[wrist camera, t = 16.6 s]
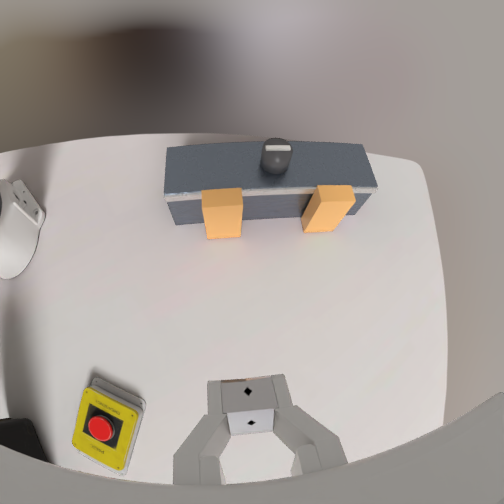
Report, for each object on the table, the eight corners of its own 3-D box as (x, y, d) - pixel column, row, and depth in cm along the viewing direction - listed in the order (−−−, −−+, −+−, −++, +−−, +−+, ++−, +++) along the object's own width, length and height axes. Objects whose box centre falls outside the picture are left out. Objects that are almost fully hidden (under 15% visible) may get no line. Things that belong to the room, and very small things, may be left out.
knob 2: (332, 231, 46) (355, 201, 36) (303, 232, 45) (321, 201, 36) (315, 159, 50) (330, 122, 41) (288, 159, 50) (300, 121, 40)
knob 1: (240, 236, 44) (243, 204, 35) (207, 239, 43) (201, 207, 34) (233, 161, 49) (234, 121, 39) (204, 162, 48) (201, 123, 39)
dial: (291, 174, 38) (296, 158, 35) (262, 174, 37) (264, 159, 34) (286, 151, 39) (290, 136, 36) (258, 151, 39) (260, 136, 36)
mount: (355, 216, 47) (378, 188, 38) (175, 227, 44) (163, 196, 35) (343, 176, 50) (362, 144, 41) (176, 182, 47) (167, 147, 38)
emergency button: (139, 405, 31) (117, 486, 26) (148, 400, 35) (126, 476, 30) (82, 376, 32) (64, 456, 27) (95, 374, 36) (76, 449, 31)
